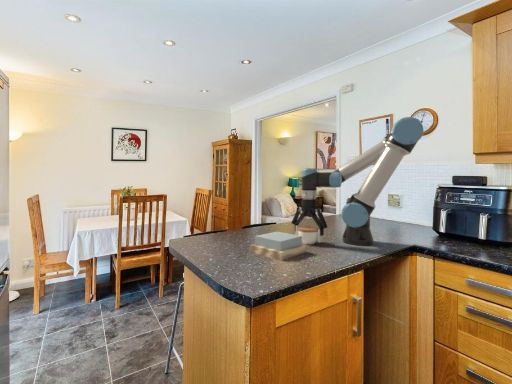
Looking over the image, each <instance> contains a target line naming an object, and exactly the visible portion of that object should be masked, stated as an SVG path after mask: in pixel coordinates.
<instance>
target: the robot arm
mask: <svg viewBox="0 0 512 384" xmlns="http://www.w3.org/2000/svg"><path fill="white" fill-rule="evenodd" d="M423 135H424V126H423V123H422V122H421V121H420V120H419V119H417V118H416V117H413V116H412V117H411V116H406V117H402V118H400V119H398V120H397V121H396V122H394V124H393V126H392V127H391V131H390V132H389V134H387V135H385V136H384V137H383V139H382V140H381V141H380V142H379V143H377V144H375V145H374V146H372V147H371V148H369V149H367V150H366V151H364V152H363V153H361V154H359V155H357V156H356V157H354V158H353V159H352V160H350V161H348V162H346V163H345V164H343V165H342V166H340V167H339V168H336V170H334V171H329V172H328V171H327V172H325V171H324V172H323V171H321V172H320V171H319V172H318V169H317V168H313V167H312V168H303V169H302V170H301V171H302V172H301V198H302V199H301V206H297V207H296V210H295V213H294V216H293V218H292V220H291V224H292V225H294V232H295V235H299V234H298V228H299V227H301V225H300V224H301V222H302V221H303V219H304V218H306V217H309V218H311V219H312V220H313V221H314V222H315V224H316V226H317V228H319V229H318V240H317V243H322V242H323V236H324V235H325V234H324V231H325V229H328V225H327V222H326V220H325V218H324V214H323V209H322V208H317V195H318V194H317V193H318V191H317V188H333V189H335V188H341V186H342V184H343V183H344V182H346V181H348V180H349V179H351V178H354V176H356V175H358V174H360V173H361V172H363V171H364V170H366V169H368V168H369V167H371V166H373V167H371V170H370V172H369V173H368V174H367V176H366V177H365V180H364V182H363V183H362V185H361V186H360V188H359V189H358V191H357V192H355V193H353V194H351V196H350V197H348V198H347V199H346V202H345V203H346V204H345V205H344V206H343V208H342V209H341V219H342V221H343V223H344V224H345V229H344V232H343V234H342V240H341V241H342V242H343V243H346V244H349V245H354V246H369V245H373V244H374V238H373V234H372V231H371V228H370V227H371V214H373V212H374V210H375V208H376V203H375V202H376V200H377V199H378V197H379V196H380V194H381V193H382V191H383V190H384V188H385V187H386V185H387V184H388V183H389V181H390V179H391V177H392V175H393V174H394V173H395V171H396V170H397V168H398V166H399V165H400V163H401V161H402V160H403V159H404V157H405V156H407V155H410V154H411V153H412V151H413V150H414V149H415V147H416V145H417V144H418V142H419V141H420V139H422V137H423Z"/></svg>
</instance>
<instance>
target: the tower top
mask: <svg viewBox="0 0 512 384" xmlns="http://www.w3.org/2000/svg"><path fill="white" fill-rule="evenodd" d="M254 244H255V245H258V246H262V247H266V248H270V249H274V250H278V251H282V250H286V249H289V248H293V247H296V246H299V245H302V244H303V242H302V236H299V235H296V234H293V233H292V234H291V233H286V232H282V231H273V232H268V233H263V234H258V235H255V236H254Z"/></svg>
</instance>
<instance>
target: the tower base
mask: <svg viewBox="0 0 512 384" xmlns="http://www.w3.org/2000/svg"><path fill="white" fill-rule="evenodd" d="M249 247H250V253H253V254H256V255H260V256H263V257H267V258H271V259H272V260H273V259H274V260H278V261H284V260H287V259H290V258H293V257H296V256H300V255H302V254H304V253H307V244H303V243H302V245H299V246H296V247H293V248H289V249H286V250H282V251H278V250H274V249H270V248H266V247H262V246H258V245H255V243H253V244H250V246H249Z"/></svg>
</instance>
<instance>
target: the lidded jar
mask: <svg viewBox="0 0 512 384" xmlns="http://www.w3.org/2000/svg"><path fill="white" fill-rule="evenodd" d="M318 229H320V228H319V227H318V226H317V227H316V226H311V225H310V224H307V226H300V227H299V228H298V234H299V236H302V244H304V245H315V243H316V242H318Z"/></svg>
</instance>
